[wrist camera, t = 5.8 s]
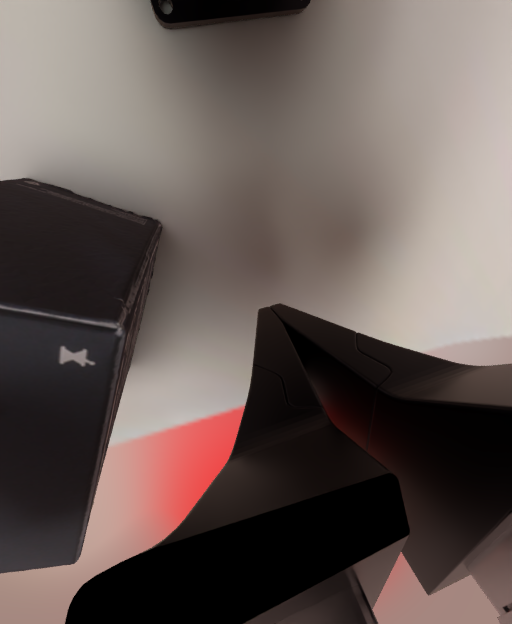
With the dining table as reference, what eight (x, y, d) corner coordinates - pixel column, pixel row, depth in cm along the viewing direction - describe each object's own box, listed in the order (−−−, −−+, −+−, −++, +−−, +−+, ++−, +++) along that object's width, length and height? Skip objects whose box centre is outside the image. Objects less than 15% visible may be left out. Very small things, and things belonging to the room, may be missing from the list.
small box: (10, 168, 11) (-639, 184, 2) (165, 220, 14) (142, 321, 5) (12, 356, 15) (-215, 621, 6) (131, 368, 18) (86, 567, 9)
